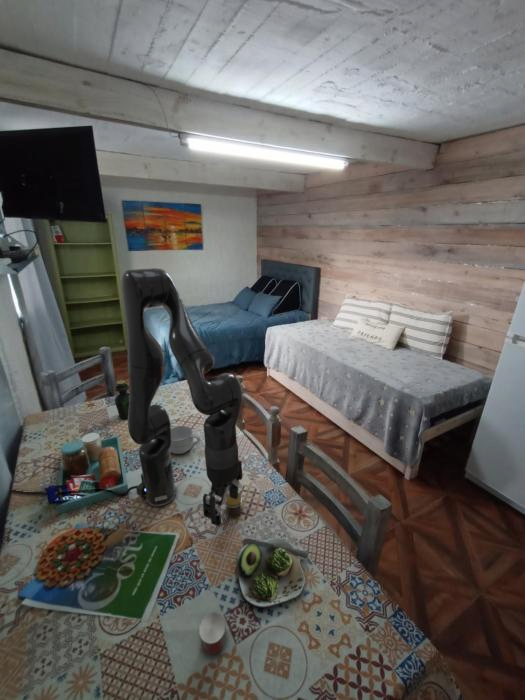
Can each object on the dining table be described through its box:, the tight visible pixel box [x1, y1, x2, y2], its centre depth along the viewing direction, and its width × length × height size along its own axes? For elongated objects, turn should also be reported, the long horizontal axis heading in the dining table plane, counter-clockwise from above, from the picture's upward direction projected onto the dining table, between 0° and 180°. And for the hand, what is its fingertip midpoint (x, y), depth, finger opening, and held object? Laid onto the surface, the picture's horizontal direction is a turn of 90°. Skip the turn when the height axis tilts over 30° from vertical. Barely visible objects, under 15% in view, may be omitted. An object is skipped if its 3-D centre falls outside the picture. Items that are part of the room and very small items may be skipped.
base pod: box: [224, 495, 243, 518], centre depth 99 cm, size 6×6×5 cm
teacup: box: [170, 425, 201, 455], centre depth 126 cm, size 14×11×8 cm
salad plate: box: [235, 537, 309, 609], centre depth 82 cm, size 19×18×5 cm
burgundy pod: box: [198, 611, 227, 655], centre depth 68 cm, size 6×6×5 cm
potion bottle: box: [114, 379, 129, 420], centre depth 147 cm, size 8×8×18 cm
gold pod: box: [226, 481, 243, 505], centre depth 97 cm, size 6×6×5 cm
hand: (225, 510), depth 78 cm, fingers open, 8 cm apart
